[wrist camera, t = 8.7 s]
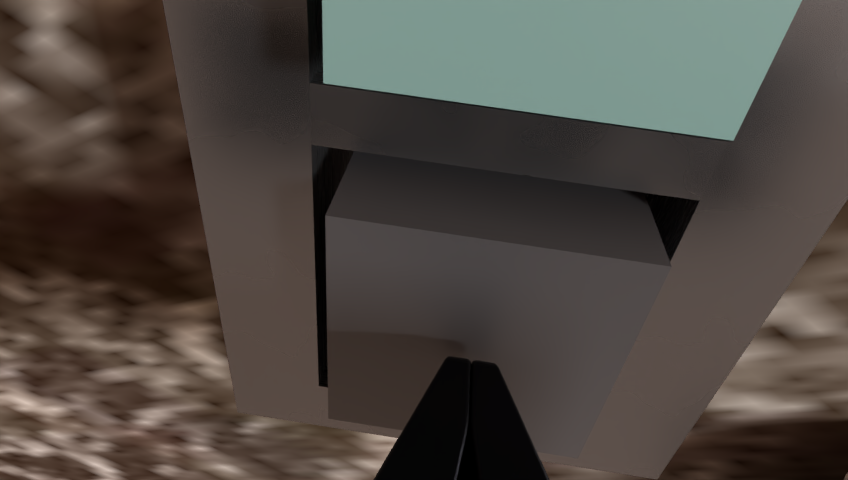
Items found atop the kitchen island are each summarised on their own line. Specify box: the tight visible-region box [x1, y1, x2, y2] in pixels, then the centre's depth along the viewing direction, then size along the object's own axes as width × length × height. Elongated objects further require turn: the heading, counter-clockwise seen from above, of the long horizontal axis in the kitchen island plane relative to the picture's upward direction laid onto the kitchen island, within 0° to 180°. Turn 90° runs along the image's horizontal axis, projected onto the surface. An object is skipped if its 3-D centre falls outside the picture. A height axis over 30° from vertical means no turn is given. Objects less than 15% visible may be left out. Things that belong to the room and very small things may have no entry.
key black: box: [325, 151, 672, 458], centre depth 11 cm, size 5×5×4 cm
